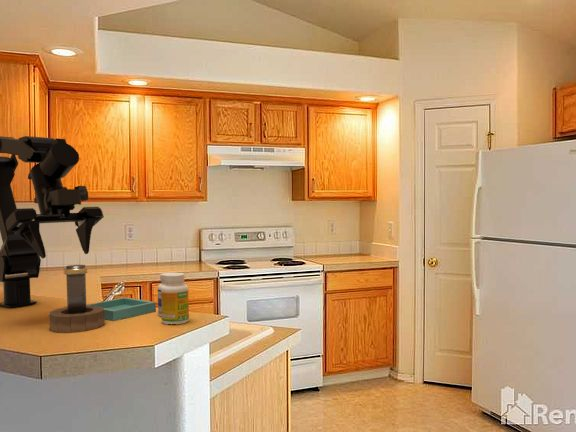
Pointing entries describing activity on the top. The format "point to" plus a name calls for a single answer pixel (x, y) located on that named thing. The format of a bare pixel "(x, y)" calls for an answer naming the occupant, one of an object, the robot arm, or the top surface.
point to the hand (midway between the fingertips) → (66, 255)
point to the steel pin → (76, 288)
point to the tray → (125, 308)
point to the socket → (76, 320)
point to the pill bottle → (160, 293)
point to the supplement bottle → (174, 299)
